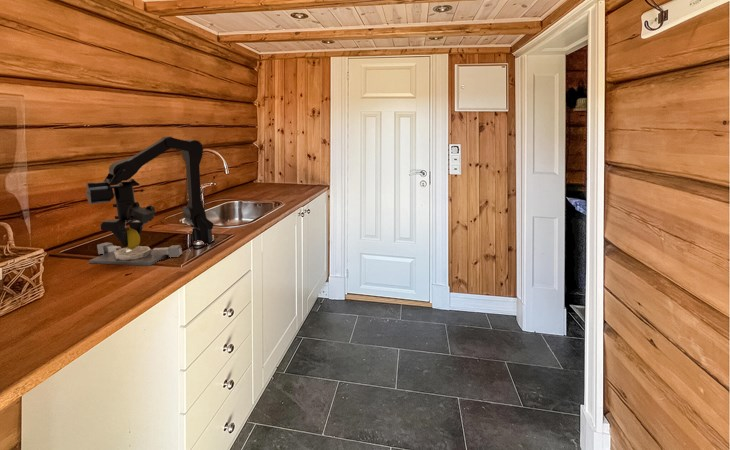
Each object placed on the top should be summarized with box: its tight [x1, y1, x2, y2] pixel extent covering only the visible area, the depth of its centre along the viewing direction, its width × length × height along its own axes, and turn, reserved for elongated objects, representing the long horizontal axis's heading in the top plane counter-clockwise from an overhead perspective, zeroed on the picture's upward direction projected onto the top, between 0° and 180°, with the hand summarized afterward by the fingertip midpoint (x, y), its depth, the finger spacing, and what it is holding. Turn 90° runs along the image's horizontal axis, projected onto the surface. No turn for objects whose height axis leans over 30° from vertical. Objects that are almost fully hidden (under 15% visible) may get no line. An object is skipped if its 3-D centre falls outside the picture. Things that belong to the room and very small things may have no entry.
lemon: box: [125, 227, 141, 250], centre depth 139 cm, size 6×6×8 cm
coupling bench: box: [88, 242, 183, 267], centre depth 140 cm, size 31×14×4 cm, turn 82°
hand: (131, 244), depth 140 cm, fingers closed on lemon, 5 cm apart
